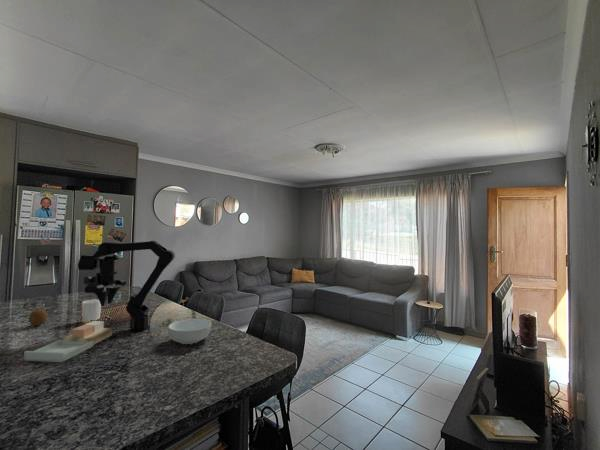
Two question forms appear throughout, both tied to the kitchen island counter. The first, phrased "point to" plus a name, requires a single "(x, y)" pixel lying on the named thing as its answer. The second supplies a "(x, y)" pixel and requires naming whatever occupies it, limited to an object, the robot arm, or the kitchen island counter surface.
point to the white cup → (91, 310)
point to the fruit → (37, 317)
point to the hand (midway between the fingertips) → (106, 304)
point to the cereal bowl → (189, 330)
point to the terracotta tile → (82, 331)
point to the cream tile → (96, 325)
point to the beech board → (91, 336)
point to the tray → (57, 351)
